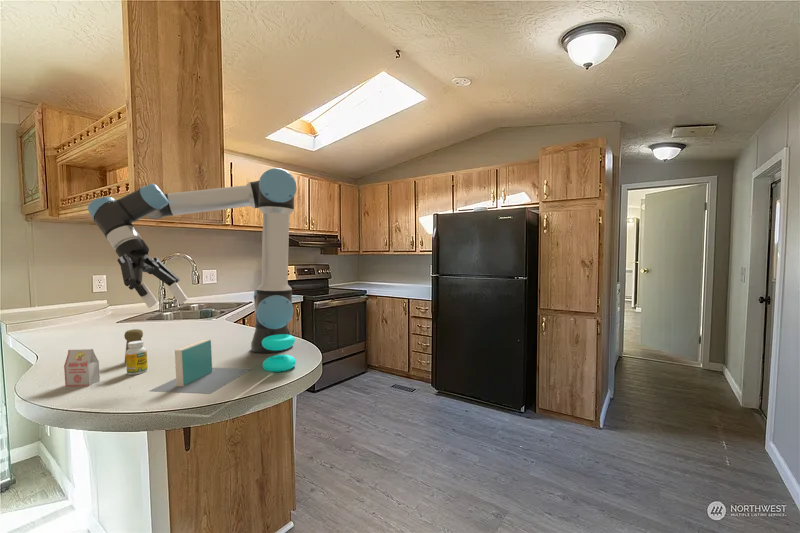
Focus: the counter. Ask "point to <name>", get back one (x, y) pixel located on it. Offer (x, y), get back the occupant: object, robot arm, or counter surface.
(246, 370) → the mat
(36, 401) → the counter surface
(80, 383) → the white gable carton
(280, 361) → the donuts
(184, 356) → the tile
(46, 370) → the counter surface
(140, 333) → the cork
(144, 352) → the supplement bottle
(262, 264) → the robot arm
